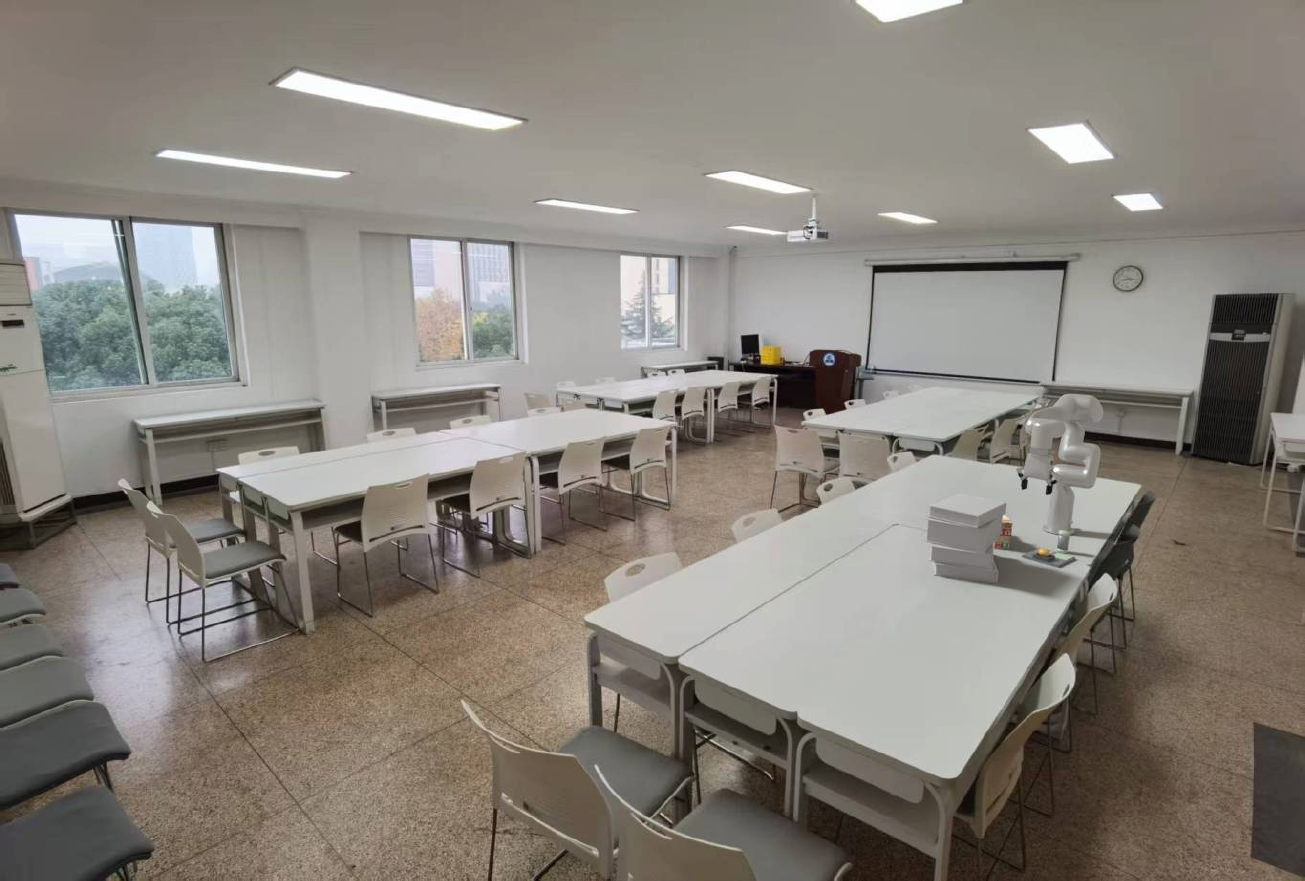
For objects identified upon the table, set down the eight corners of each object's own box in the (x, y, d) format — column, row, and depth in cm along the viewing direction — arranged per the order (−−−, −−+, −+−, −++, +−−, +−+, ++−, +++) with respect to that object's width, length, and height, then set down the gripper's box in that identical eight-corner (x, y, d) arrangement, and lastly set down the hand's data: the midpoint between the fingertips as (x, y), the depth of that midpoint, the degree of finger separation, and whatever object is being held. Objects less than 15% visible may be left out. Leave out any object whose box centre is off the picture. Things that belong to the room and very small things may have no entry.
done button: (1041, 552, 270) (1041, 548, 269) (1050, 555, 267) (1051, 550, 266) (1037, 554, 268) (1037, 550, 267) (1046, 557, 265) (1047, 552, 264)
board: (1039, 549, 280) (1039, 544, 280) (1075, 559, 269) (1075, 553, 268) (1022, 557, 272) (1022, 551, 271) (1058, 567, 260) (1059, 561, 260)
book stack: (996, 553, 276) (1001, 495, 271) (1010, 586, 244) (1017, 520, 239) (919, 545, 286) (923, 489, 281) (923, 575, 254) (928, 512, 249)
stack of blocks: (980, 532, 302) (982, 507, 300) (994, 533, 301) (997, 507, 299) (994, 548, 282) (996, 521, 279) (1010, 549, 281) (1012, 522, 278)
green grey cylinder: (1059, 549, 280) (1061, 529, 278) (1069, 552, 277) (1071, 531, 275) (1054, 551, 278) (1057, 531, 276) (1065, 554, 275) (1067, 533, 273)
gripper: (1067, 454, 264) (1062, 494, 267) (1023, 447, 278) (1019, 486, 281) (1058, 456, 260) (1053, 498, 263) (1014, 449, 274) (1010, 488, 277)
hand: (1036, 491), depth 272 cm, fingers open, 9 cm apart
